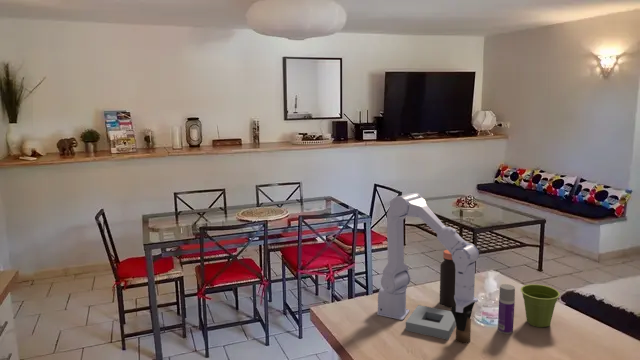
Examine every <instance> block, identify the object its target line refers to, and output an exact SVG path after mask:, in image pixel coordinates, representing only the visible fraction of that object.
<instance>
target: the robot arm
mask: <svg viewBox="0 0 640 360" xmlns="http://www.w3.org/2000/svg"><path fill="white" fill-rule="evenodd" d="M407 217H413V218H419V219H421V221H423V223H425V224H426V226H428V227H429V228H430V229H431V230H432V231H433V232H434V233H436V238H437V239H436V240H437V241H439V243H440V244H441V245H442V246H443V247H444V248H445V250H448V251H449V252H450V253H451V254H452V260H453V262H454V263H455V269H456V271H455V295H454V300H455V303H456V307H453V306H452V307H450V311H451V312H452V314H453V316H454V318H455V322H456V326H457V330H460V331H464V330H465V328H466V323H467V318H468V317H469V318H470V319H471V317H472V313H473V309H474V306H475V304H476V303H478V302H479V298H478V297H475V281H476V280H475V279H476V278H475V277H476V262H477V261H478V259H479V257H480V253H479V250H478V248H477V247H476V245H475V244H473V243H469V242H468V241H467V240H464V239H463V237H462V236H461V235H459V233H458V232H457V230H456V229H455V228H452V227H451V226H446V225H445V224H444V223H443V222H442V221H441V220H440V218H439V217H438V216H437V215H436V214H435V213H434V212H433V211H432V210H431V209H430V207H429V206H428V205H427V202H426V199H424V197H422V196H421V194H420V193H418V192H415V191H412V192H409V193H406V194H402V195H397V196H395V197H393V198H391V200H390V201H389V208H388V210H387V213H386V231H387V232H386V235H387V237H386V238H387V239H386V241H387V264H386V265H385V267H384V268H383V270H382V276H381V278H380V285H381V287H380V289H379V290H378V294H377V313H376V314H377V316H381V317H385V318H386V317H387V318H391V319H395V320H400V321H403V320H404V319H405V318H406V316H407V315H408V314H409V312H410V309H407V289H408V285H409V284H410V283H411V275H410V272H409V266H408V265H407V264H406V263H405V256H404V255H405V254H404V253H405V251H404V250H405V249H404V248H405V247H404V245H405V243H404V241H405V240H404V238H405V237H404V220H405V218H407Z"/></svg>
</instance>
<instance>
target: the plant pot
mask: <svg viewBox="0 0 640 360" xmlns="http://www.w3.org/2000/svg"><path fill="white" fill-rule="evenodd" d="M520 292H521V293H522V298H523V302H524V303H523V304H524V310H525V318H526V322H527V323H529V325H530V326H532V327H535V328H536V327H537V328H544V327H547V328H548V327H549V326H550V325H551V322H552V319H553V314H554V310H555V306H556V304H557V303H558V298H560V295H561V293H560V292H559V291H558V289H556V288H553V286H552V287H551V286H549V285H548V286H547V285H543V284H538V283H536V284H534V283H533V284H531V283H530V284H525V285H522V286H521V287H520Z"/></svg>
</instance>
